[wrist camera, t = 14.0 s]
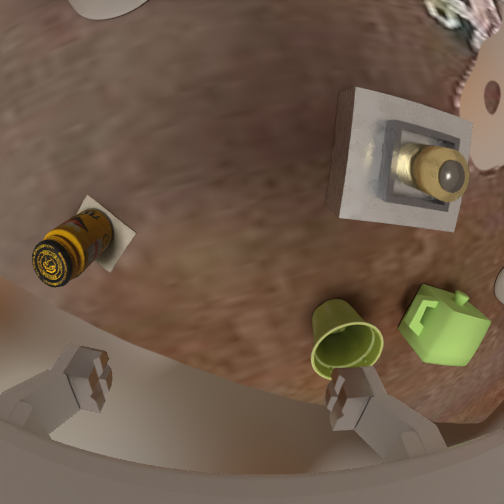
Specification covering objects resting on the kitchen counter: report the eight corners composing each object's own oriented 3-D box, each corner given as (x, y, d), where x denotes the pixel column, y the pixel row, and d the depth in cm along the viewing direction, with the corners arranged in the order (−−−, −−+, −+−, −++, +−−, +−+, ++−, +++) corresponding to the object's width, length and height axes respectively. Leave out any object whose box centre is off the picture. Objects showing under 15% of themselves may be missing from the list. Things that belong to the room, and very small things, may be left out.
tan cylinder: (398, 138, 29) (436, 143, 22) (435, 147, 29) (475, 156, 22) (392, 183, 31) (427, 199, 24) (428, 190, 31) (466, 207, 24)
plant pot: (304, 287, 42) (317, 323, 34) (368, 287, 43) (391, 321, 35) (296, 341, 46) (305, 382, 38) (355, 339, 46) (372, 377, 38)
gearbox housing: (338, 92, 33) (364, 83, 25) (446, 120, 34) (485, 123, 26) (325, 204, 38) (346, 225, 30) (430, 218, 39) (464, 239, 31)
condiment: (87, 194, 37) (37, 221, 25) (136, 232, 39) (99, 273, 28) (65, 235, 39) (18, 272, 27) (111, 271, 41) (74, 318, 30)
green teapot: (479, 292, 45) (511, 317, 36) (454, 338, 48) (481, 368, 39) (411, 268, 42) (446, 297, 33) (383, 324, 45) (409, 361, 36)
